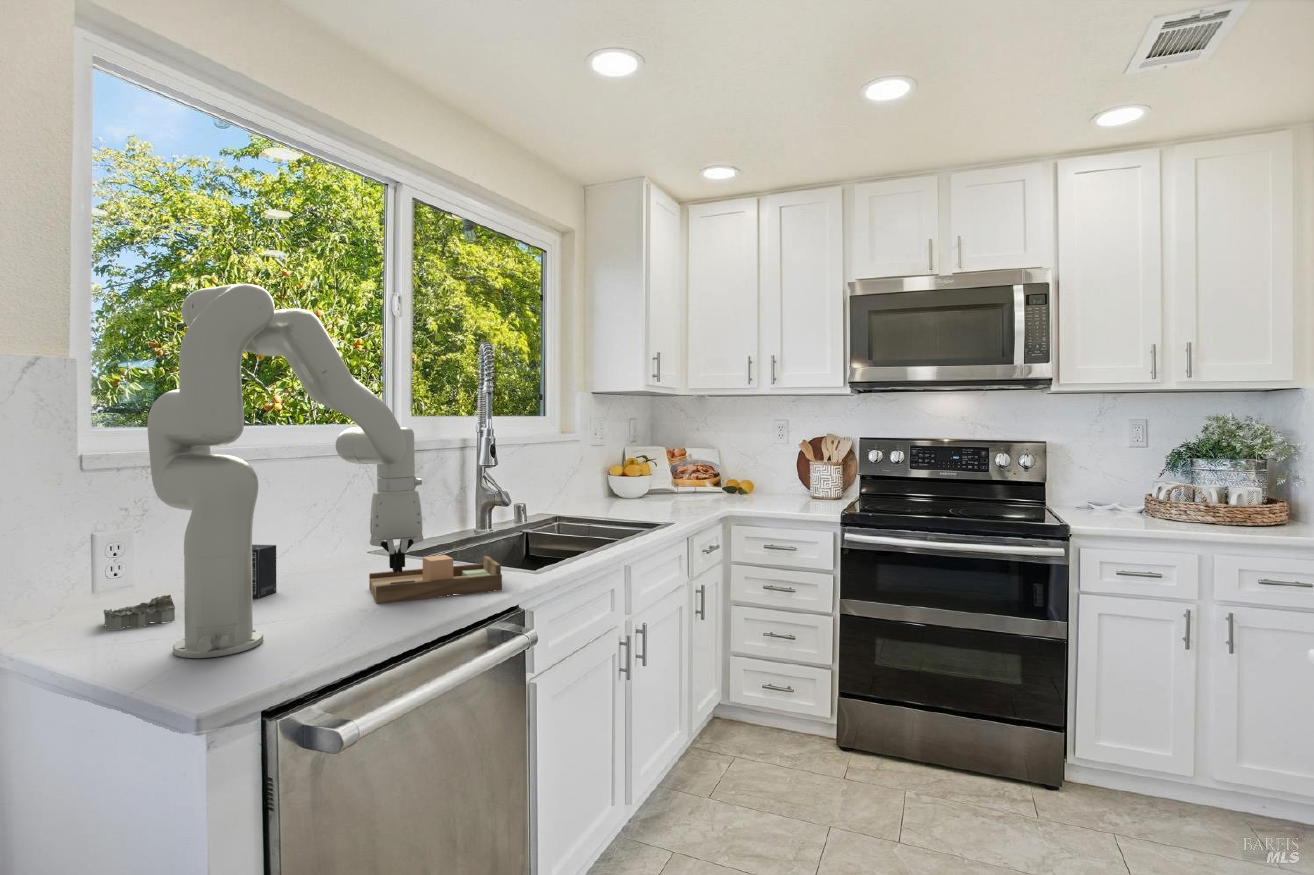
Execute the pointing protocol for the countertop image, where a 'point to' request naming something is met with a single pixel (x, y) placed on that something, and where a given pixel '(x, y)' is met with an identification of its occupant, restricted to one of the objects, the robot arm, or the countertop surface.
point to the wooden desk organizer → (435, 582)
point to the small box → (263, 570)
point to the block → (437, 568)
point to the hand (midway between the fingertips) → (397, 570)
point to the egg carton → (141, 613)
